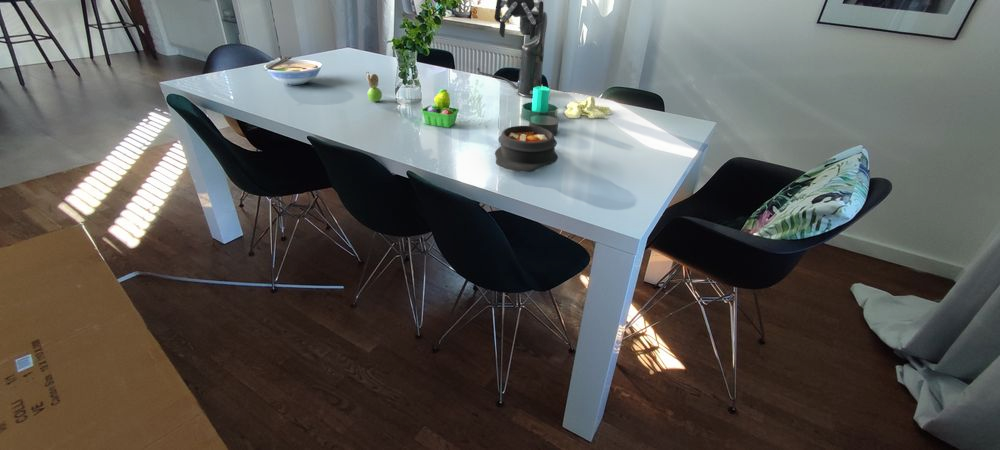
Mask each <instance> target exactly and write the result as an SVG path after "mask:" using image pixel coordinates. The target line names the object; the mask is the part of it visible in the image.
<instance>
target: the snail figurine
mask: <svg viewBox="0 0 1000 450" xmlns="http://www.w3.org/2000/svg"><path fill="white" fill-rule="evenodd" d="M365 73H366V80H367V83H368V86H369V87H370V88H369V89H368V91H367V97H368V100H370V101H371V102H375V103H377V102H380V101H381V99H382V97H383V93H382V90H381V89H380V88H379V87H378V86H379V76H378V75H377V74H375V73H373V74H371V75H370V72H369V71H365Z"/></svg>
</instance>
